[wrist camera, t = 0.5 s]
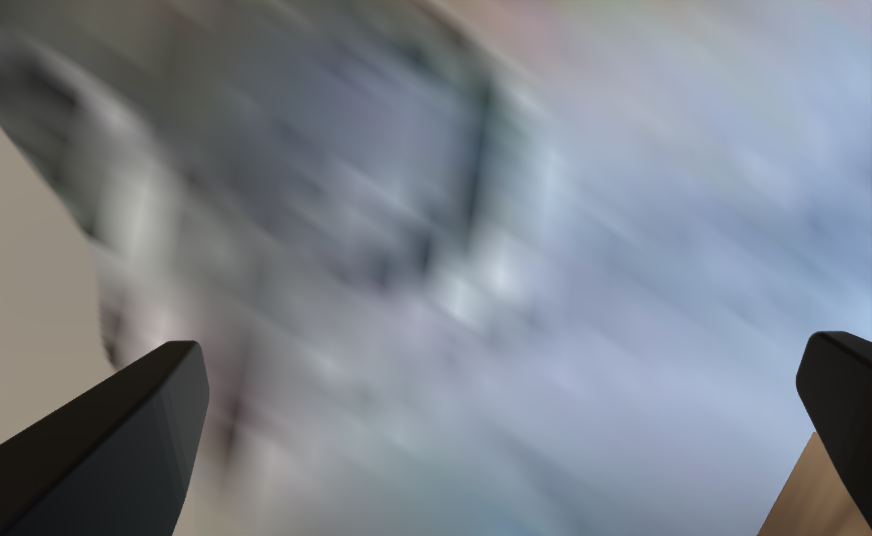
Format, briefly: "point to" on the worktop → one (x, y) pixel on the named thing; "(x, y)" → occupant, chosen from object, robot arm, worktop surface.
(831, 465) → the walnut block
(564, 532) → the worktop surface
